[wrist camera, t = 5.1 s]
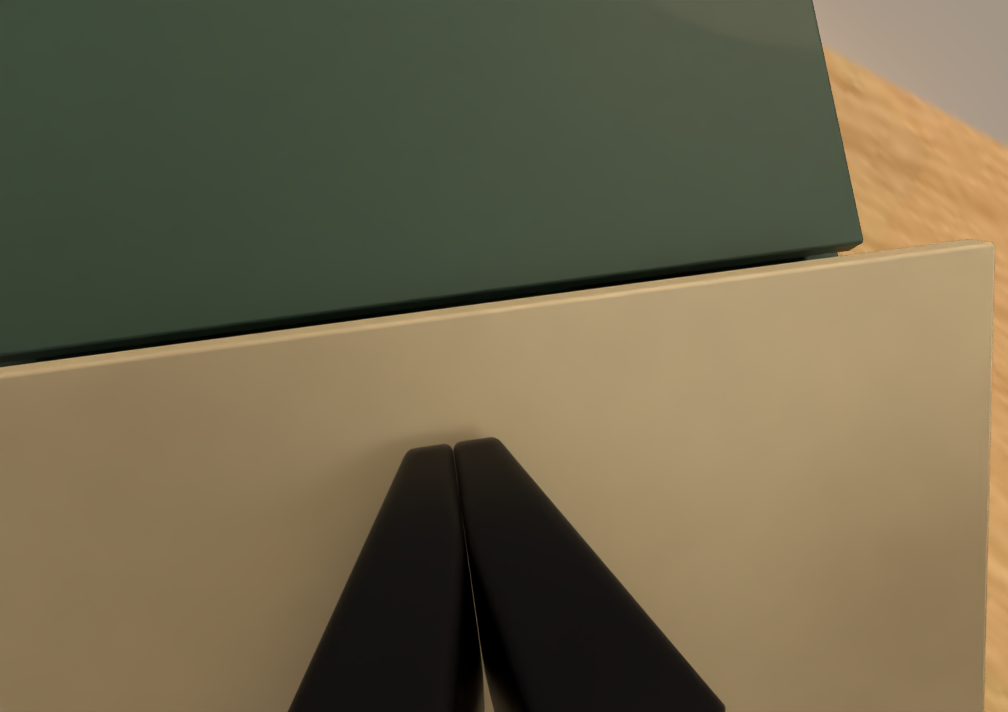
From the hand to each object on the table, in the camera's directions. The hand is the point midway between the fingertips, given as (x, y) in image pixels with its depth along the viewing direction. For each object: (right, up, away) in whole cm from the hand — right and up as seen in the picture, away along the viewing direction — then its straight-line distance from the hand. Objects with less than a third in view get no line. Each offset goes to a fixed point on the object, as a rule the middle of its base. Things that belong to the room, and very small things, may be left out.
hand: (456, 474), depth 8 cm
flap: (0, -2, +1) cm, 2 cm away
